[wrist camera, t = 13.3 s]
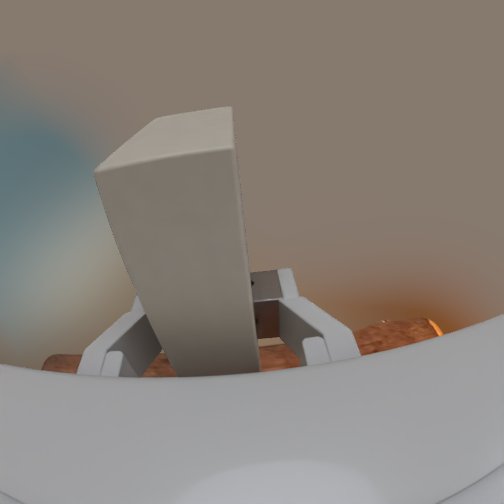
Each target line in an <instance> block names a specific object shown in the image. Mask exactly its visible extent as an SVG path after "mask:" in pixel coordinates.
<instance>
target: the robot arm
mask: <svg viewBox="0 0 504 504" xmlns="http://www.w3.org/2000/svg"><path fill="white" fill-rule="evenodd" d="M250 278H251V288H252V298H253V308H254V316H255V325H256V334H257V339H262V338H273V337H280V339H281V340H282V341H283V342H284V343H285V344H286V345H287V346H288V347H289V348H290V349H291V350H292V351H293V352H294V353H295V354H296V355H297V356H298V357H299V358H300V360H301V362H300V367H297V368H289V369H282V370H273V371H265V372H255V373H245V374H233V375H218V376H200V377H161V378H148V377H141V376H142V375H143V374H144V372H145V371H146V370H147V369H148V367H149V366H150V365H151V363H152V362H153V361H154V359H155V358H156V357H157V355H158V354H159V353H160V352H161V350H162V349H163V348H162V346H161V344H160V342H159V340H158V338H157V336H156V334H155V332H154V330H153V328H152V326H151V324H150V322H149V320H148V318H147V315H146V313H145V311H144V309H143V307H142V304H141V302H140V300H139V298H138V295H137V293H136V296H135V299H134V302H133V305H132V308H131V311H130V312H127V313H126V314H124V315H123V316H122V317H121V318H120V319H119V320H118V321H116V322H115V323H114V324H113V325H112V326H111V327H110V328H109V329H107V330H106V331H105V332H104V333H103V334H102V335H101V336H99V337H98V338H97V339H96V340H95V341H94V342H93V343H92V344H90V345H89V346H88V347H87V348H86V349H85V351H84V354H83V356H82V359H81V362H80V365H79V368H78V371H77V374H70V373H60V372H51V371H43V370H36V369H29V368H22V367H16V366H11V365H4V364H0V504H504V314H502V315H499V316H497V317H494V318H492V319H489V320H486V321H484V322H481V323H478V324H475V325H473V326H470V327H467V328H464V329H461V330H458V331H455V332H452V333H448V334H445V335H442V336H439V337H435V338H432V339H429V340H425V341H422V342H418V343H414V344H411V345H407V346H403V347H399V348H395V349H391V350H387V351H383V352H378V353H374V354H369V355H365V356H361V354H360V351H359V349H358V346H357V343H356V341H355V338H354V336H353V333H352V331H351V329H349V328H348V327H346V326H345V325H343V324H342V323H340V322H339V321H338V320H336V319H334V318H333V317H332V316H330V315H329V314H328V313H326V312H325V311H323V310H322V309H320V308H319V307H317V306H316V305H315V304H313V303H312V302H310V301H309V300H307V299H306V298H304V297H299V293H298V290H297V287H296V283H295V280H294V276H293V273H292V269H291V268H283V269H277V270H270V271H262V272H253V273H250Z"/></svg>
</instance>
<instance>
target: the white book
mask: <svg viewBox="0 0 504 504" xmlns="http://www.w3.org/2000/svg"><path fill="white" fill-rule="evenodd" d="M94 177H95V180H96V184H97V187H98V190H99V194H100V197H101V200H102V203H103V206H104V209H105V212H106V214H107V218H108V221H109V224H110V227H111V230H112V232H113V235H114V238H115V241H116V243H117V246H118V249H119V251H120V254H121V257H122V259H123V262H124V264H125V266H126V269H127V272H128V274H129V277H130V279H131V281H132V284H133V286H134V288H135V291H136V293H137V295H138V298H139V300H140V302H141V304H142V307H143V309H144V311H145V313H146V315H147V318H148V320H149V322H150V324H151V326H152V328H153V330H154V332H155V334H156V336H157V338H158V340H159V342H160V344H161V346H162V348H163V350H164V352H165V354H166V356H167V358H168V360H169V362H170V364H171V366H172V368H173V369H174V371H175V373H176V375H177V377H200V376H218V375H233V374H245V373H255V372H261V364H260V355H259V346H258V339H257V334H256V325H255V316H254V308H253V298H252V288H251V278H250V266H249V257H248V249H247V239H246V229H245V220H244V212H243V203H242V193H241V184H240V174H239V165H238V156H237V147H236V137H235V127H234V118H233V109H232V107H223V108H214V109H207V110H200V111H193V112H187V113H181V114H175V115H170V116H165V117H159V118H156V119H155V120H153V121H152V122H151V123H149V124H148V125H147V126H146V127H144V128H143V129H142V130H140V131H139V132H138V133H137V134H135V135H134V136H133V137H132V138H130V139H129V140H128V141H127V142H126V143H124V144H123V145H122V146H121V147H120V148H118V149H117V150H116V151H115V152H114V153H113V154H112V155H110V156H109V157H108V158H107V159H106V160H105V161H104V162H102V163H101V164H100V165H99V166H98V167H97V168H96V169H95V170H94Z"/></svg>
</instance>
